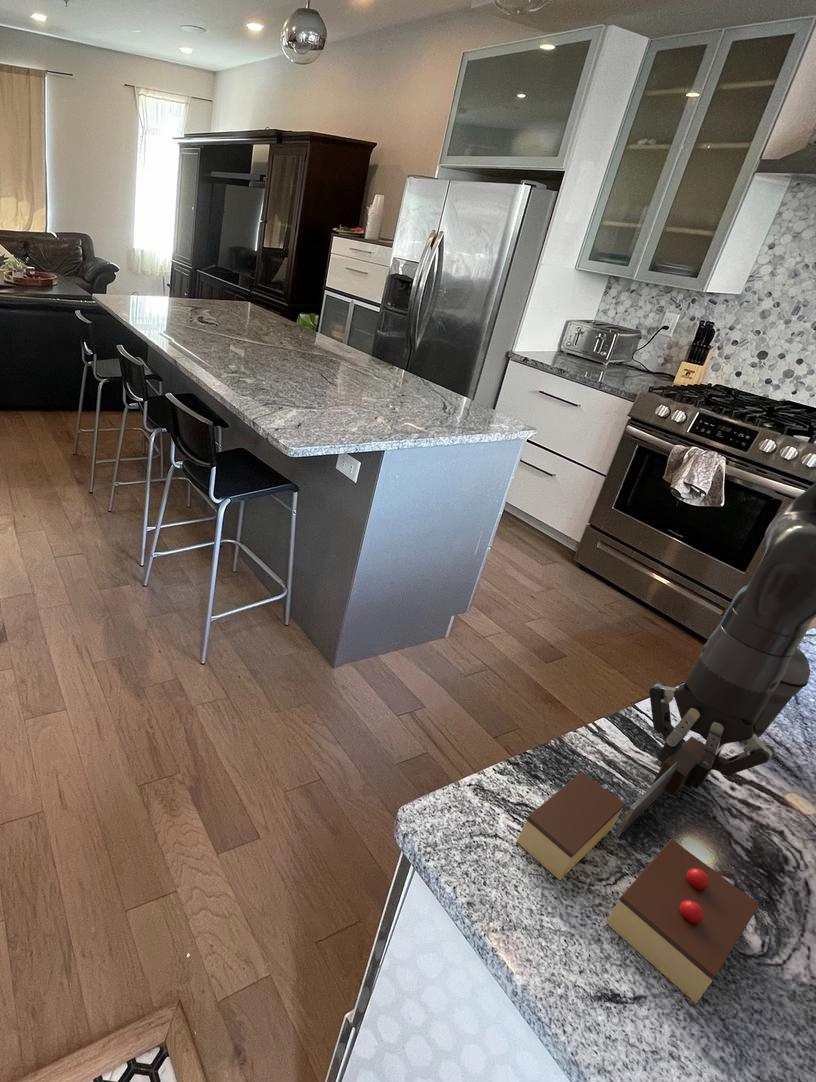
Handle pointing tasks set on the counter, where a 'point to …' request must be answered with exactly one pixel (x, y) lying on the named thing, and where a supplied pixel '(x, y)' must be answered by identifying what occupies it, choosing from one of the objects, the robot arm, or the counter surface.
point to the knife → (667, 779)
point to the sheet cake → (682, 918)
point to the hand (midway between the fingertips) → (677, 774)
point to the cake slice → (570, 824)
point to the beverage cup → (784, 691)
